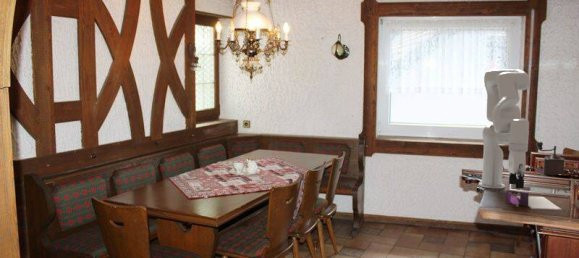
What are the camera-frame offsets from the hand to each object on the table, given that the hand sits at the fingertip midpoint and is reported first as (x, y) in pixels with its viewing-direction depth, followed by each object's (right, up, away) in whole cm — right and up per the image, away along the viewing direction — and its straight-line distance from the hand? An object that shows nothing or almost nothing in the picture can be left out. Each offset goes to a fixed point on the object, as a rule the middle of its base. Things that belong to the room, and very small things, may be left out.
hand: (516, 186), depth 232 cm
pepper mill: (+52, -1, +78) cm, 94 cm away
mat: (+13, -8, +7) cm, 17 cm away
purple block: (+1, -9, +2) cm, 10 cm away
